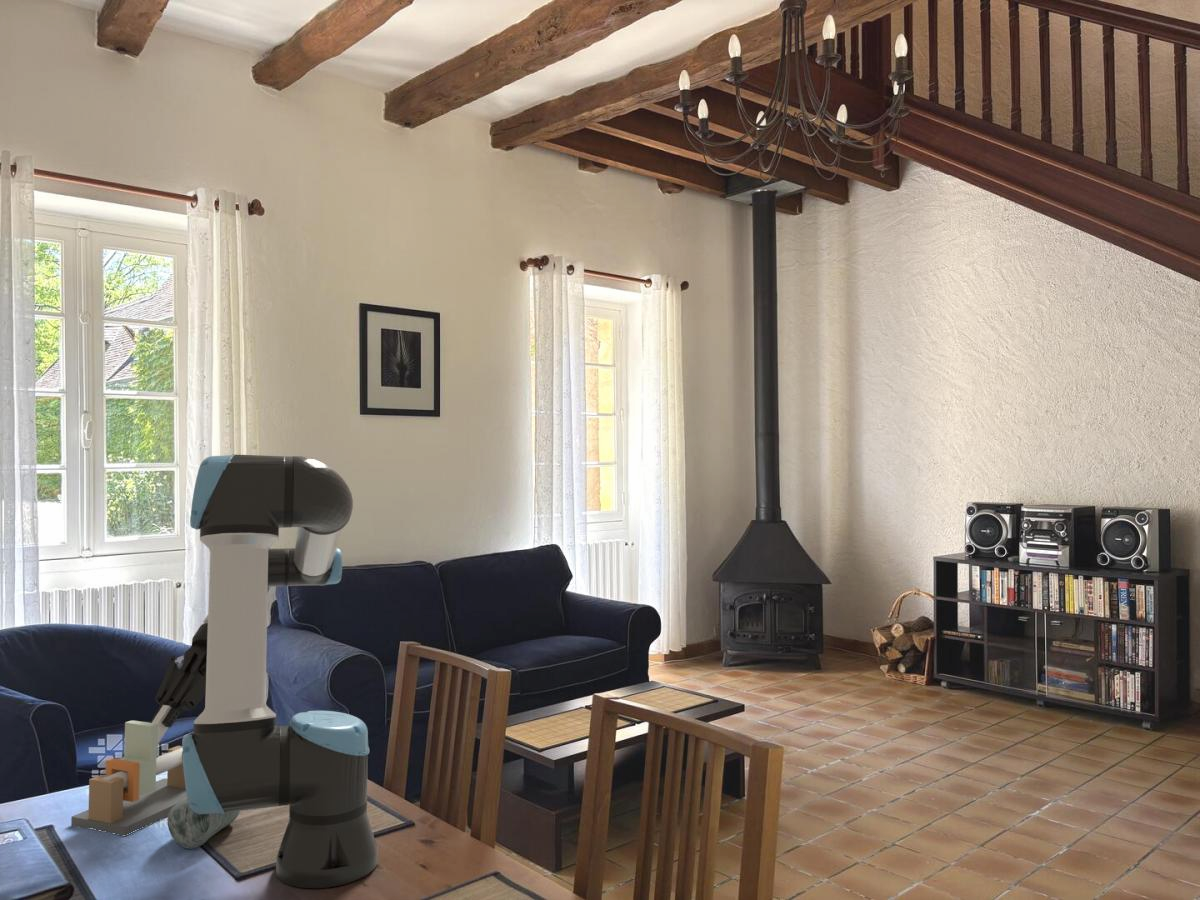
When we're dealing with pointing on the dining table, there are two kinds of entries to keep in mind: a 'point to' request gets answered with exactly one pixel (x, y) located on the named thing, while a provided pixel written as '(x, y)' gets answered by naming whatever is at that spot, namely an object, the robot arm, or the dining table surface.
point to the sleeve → (142, 752)
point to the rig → (130, 816)
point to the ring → (133, 776)
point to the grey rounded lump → (195, 824)
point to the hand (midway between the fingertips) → (149, 741)
